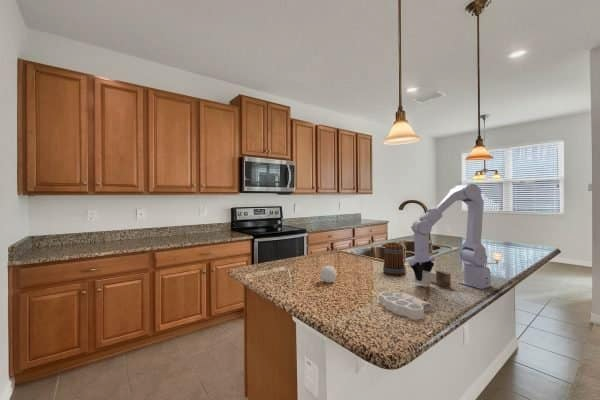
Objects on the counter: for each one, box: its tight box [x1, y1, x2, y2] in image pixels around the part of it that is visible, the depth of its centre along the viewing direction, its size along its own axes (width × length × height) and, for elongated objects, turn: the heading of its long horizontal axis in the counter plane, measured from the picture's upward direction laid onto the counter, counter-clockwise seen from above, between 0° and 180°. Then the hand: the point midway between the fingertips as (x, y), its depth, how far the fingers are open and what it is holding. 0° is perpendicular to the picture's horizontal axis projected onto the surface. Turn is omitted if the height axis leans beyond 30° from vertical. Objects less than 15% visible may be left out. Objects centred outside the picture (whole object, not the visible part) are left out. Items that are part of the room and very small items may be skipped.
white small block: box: [413, 270, 432, 286], centre depth 117 cm, size 5×4×5 cm
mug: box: [382, 241, 406, 277], centre depth 140 cm, size 16×11×15 cm
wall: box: [435, 269, 452, 289], centre depth 116 cm, size 6×2×6 cm, turn 28°
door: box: [430, 270, 436, 283], centre depth 125 cm, size 12×2×4 cm, turn 28°
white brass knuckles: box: [378, 291, 433, 320], centre depth 95 cm, size 3×18×15 cm
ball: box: [319, 265, 338, 284], centre depth 126 cm, size 8×8×8 cm
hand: (422, 279), depth 117 cm, fingers closed on white small block, 4 cm apart
